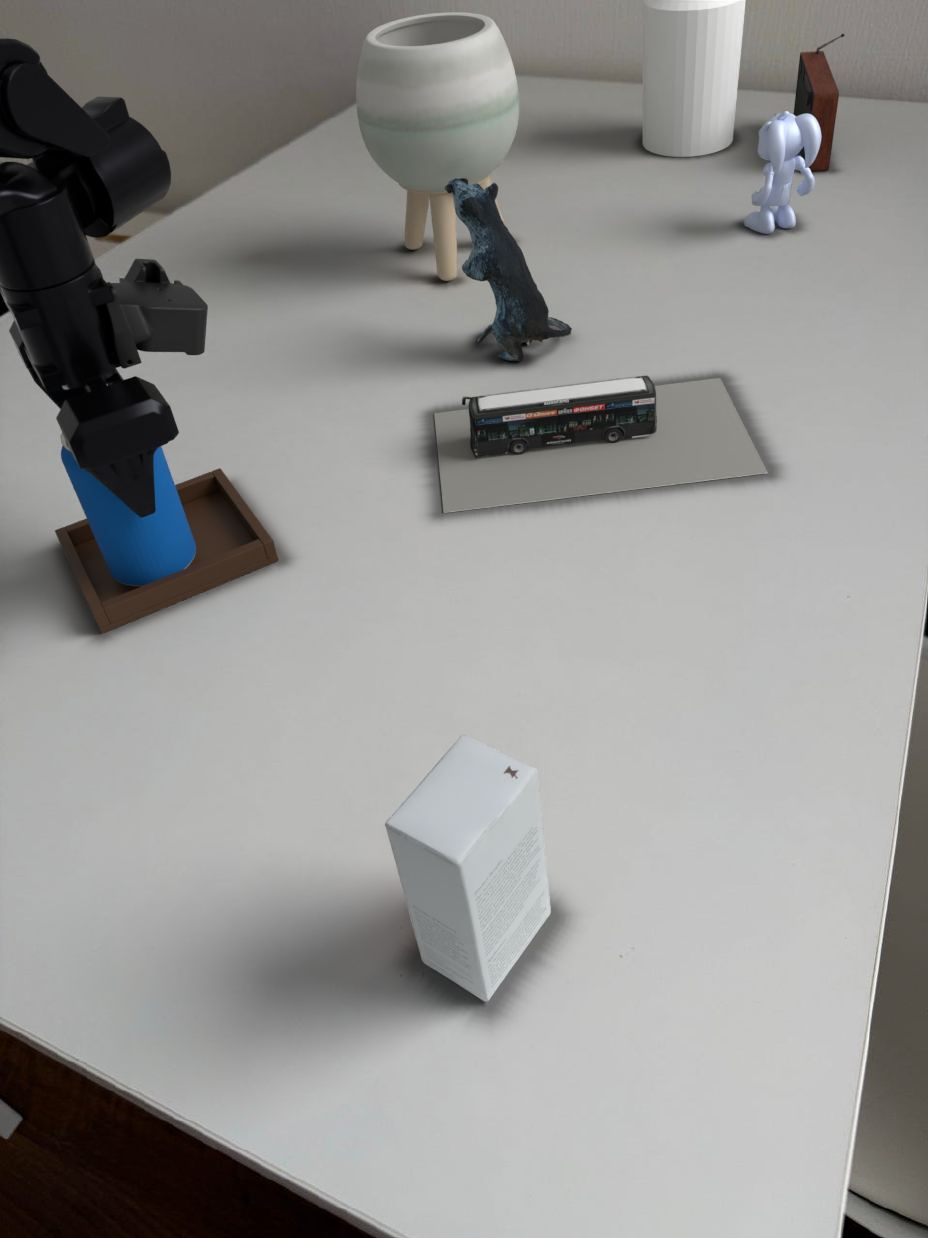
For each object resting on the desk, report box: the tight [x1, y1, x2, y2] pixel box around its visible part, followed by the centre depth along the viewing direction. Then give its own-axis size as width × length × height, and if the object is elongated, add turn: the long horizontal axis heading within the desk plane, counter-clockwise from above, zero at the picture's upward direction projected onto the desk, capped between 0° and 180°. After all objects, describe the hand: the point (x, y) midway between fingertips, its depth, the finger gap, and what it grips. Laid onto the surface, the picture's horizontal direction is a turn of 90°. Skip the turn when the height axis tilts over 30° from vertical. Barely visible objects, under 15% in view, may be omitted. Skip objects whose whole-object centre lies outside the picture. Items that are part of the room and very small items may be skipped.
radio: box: [793, 33, 845, 172], centre depth 121 cm, size 19×3×15 cm, turn 172°
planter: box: [355, 11, 520, 282], centre depth 106 cm, size 16×16×22 cm
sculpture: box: [445, 178, 573, 362], centre depth 93 cm, size 8×11×15 cm
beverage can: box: [60, 432, 196, 587], centre depth 73 cm, size 6×6×12 cm
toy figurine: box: [743, 110, 821, 235], centre depth 107 cm, size 7×6×12 cm
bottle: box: [642, 0, 747, 158], centre depth 124 cm, size 12×12×25 cm
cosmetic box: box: [384, 734, 552, 1003], centre depth 49 cm, size 6×4×12 cm
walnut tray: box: [54, 467, 280, 634], centre depth 78 cm, size 14×12×2 cm
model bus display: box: [433, 375, 769, 514], centre depth 83 cm, size 14×25×4 cm, turn 94°
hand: (128, 482), depth 73 cm, fingers open, 9 cm apart
